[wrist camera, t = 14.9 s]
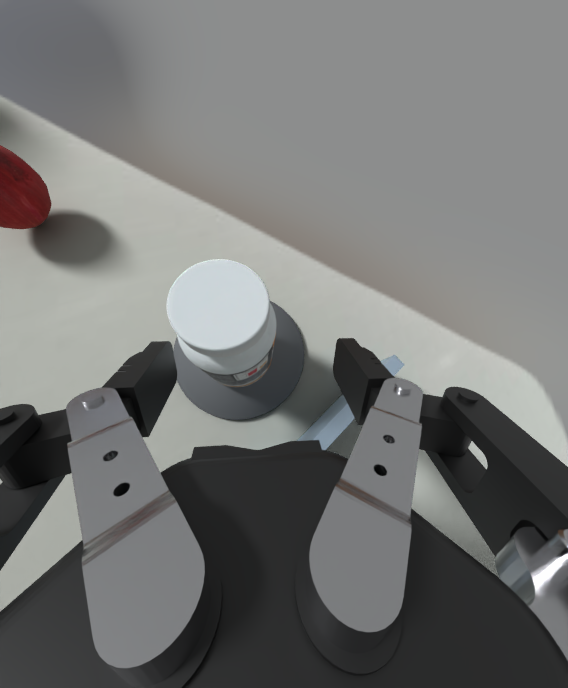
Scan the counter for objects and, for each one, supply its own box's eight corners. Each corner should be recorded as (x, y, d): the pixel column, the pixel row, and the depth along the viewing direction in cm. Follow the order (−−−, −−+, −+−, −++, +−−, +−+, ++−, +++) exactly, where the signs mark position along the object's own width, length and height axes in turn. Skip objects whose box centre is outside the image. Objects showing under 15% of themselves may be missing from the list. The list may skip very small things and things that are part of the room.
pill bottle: (285, 360, 21) (307, 313, 11) (229, 402, 19) (201, 391, 10) (245, 311, 22) (235, 229, 12) (190, 348, 20) (128, 289, 11)
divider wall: (239, 519, 17) (233, 548, 14) (230, 508, 18) (222, 533, 14) (378, 373, 22) (404, 364, 18) (370, 365, 22) (394, 354, 18)
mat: (231, 450, 19) (230, 450, 18) (147, 347, 20) (145, 345, 20) (328, 358, 22) (329, 357, 21) (248, 274, 23) (248, 272, 23)
